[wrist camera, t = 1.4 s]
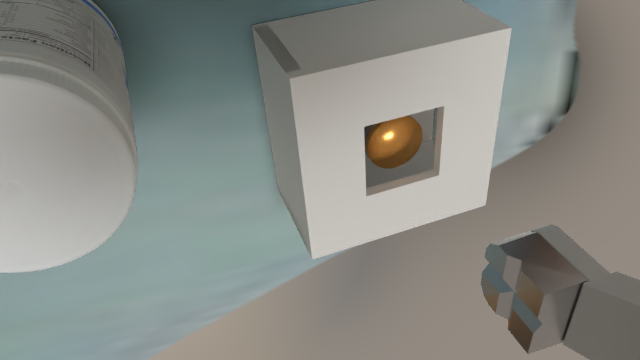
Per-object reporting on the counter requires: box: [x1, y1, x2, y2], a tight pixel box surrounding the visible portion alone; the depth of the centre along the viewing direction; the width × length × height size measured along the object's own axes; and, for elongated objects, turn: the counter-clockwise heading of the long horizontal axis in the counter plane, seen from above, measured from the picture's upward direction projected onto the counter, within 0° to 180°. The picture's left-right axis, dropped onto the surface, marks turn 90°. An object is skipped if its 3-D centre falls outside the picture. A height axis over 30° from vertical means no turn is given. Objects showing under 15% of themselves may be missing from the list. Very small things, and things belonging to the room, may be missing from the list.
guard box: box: [252, 0, 512, 259], centre depth 38 cm, size 14×14×9 cm
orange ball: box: [364, 115, 423, 169], centre depth 37 cm, size 4×4×4 cm
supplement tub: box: [0, 0, 138, 273], centre depth 26 cm, size 10×10×15 cm
